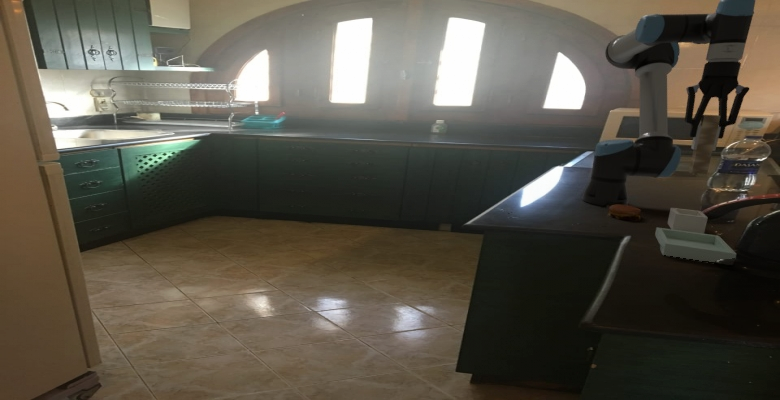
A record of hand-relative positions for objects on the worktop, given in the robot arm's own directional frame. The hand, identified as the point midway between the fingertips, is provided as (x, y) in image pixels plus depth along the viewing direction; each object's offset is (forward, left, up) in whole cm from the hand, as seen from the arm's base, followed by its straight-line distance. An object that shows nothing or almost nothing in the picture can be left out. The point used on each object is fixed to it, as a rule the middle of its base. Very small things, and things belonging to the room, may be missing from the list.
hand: (702, 149), depth 111 cm
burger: (-15, +5, -25) cm, 30 cm away
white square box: (0, 0, -25) cm, 25 cm away
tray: (-2, -18, -24) cm, 30 cm away
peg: (0, 0, -7) cm, 7 cm away
